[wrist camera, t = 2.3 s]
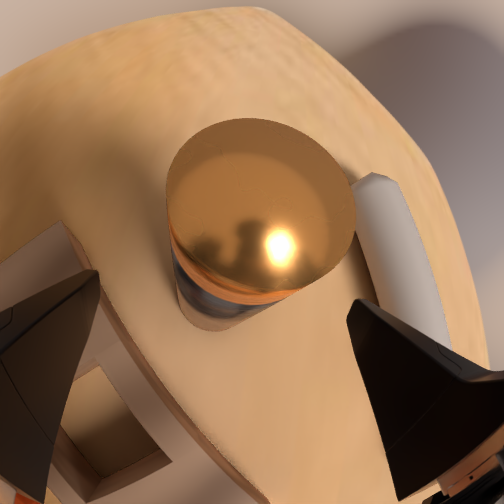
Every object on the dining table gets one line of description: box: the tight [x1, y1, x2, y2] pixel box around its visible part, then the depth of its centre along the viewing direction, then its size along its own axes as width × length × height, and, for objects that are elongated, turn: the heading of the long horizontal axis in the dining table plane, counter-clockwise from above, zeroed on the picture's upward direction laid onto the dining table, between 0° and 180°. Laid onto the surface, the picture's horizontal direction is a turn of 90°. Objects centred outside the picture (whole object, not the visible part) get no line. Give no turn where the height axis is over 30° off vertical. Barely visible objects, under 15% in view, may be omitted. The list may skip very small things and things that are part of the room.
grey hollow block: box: [0, 220, 270, 504], centre depth 12 cm, size 22×10×4 cm, turn 37°
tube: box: [350, 173, 452, 350], centre depth 19 cm, size 5×5×25 cm
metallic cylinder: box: [166, 118, 356, 331], centre depth 12 cm, size 5×5×13 cm
